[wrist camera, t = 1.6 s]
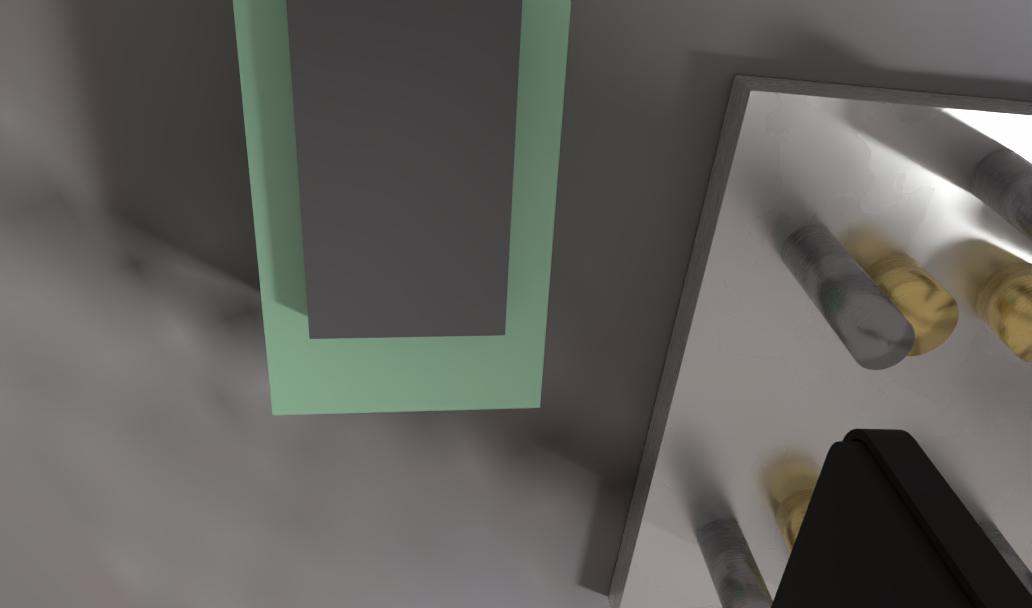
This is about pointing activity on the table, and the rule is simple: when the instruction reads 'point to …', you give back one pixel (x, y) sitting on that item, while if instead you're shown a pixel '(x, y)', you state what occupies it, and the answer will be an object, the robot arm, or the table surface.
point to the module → (403, 197)
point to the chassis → (838, 330)
